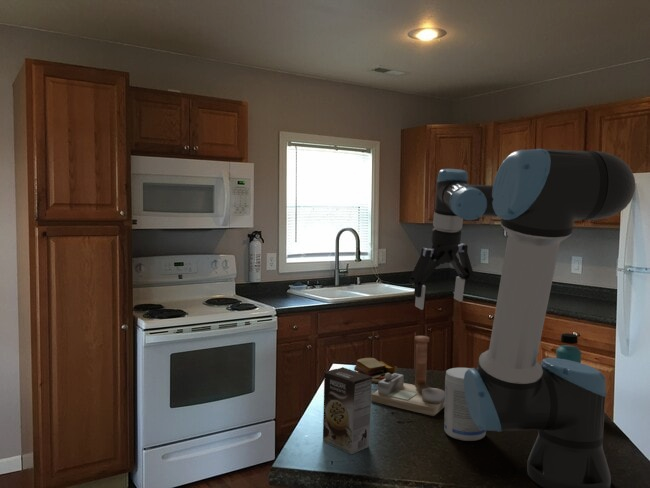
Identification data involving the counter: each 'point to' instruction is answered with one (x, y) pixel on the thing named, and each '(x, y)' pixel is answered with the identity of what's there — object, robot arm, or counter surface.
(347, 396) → the coffee box
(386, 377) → the stand
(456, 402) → the supplement tub
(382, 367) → the toy sandwich meal
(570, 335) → the beverage bottle
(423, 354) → the lever
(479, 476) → the counter surface
